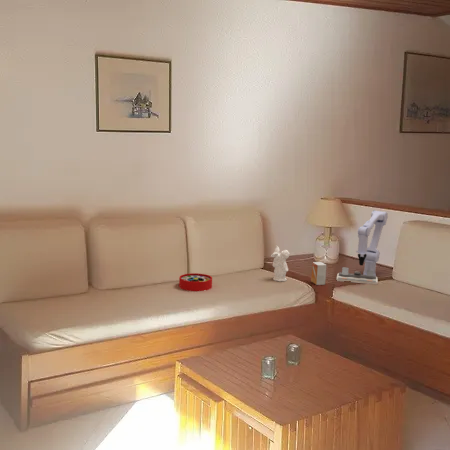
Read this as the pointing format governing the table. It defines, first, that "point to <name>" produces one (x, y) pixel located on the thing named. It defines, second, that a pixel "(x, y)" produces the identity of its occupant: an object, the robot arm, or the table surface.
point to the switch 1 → (345, 271)
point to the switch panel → (357, 278)
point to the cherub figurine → (280, 264)
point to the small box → (318, 273)
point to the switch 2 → (369, 273)
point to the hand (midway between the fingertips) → (361, 265)
